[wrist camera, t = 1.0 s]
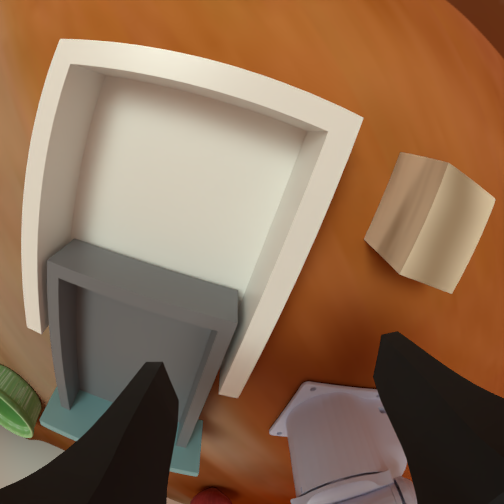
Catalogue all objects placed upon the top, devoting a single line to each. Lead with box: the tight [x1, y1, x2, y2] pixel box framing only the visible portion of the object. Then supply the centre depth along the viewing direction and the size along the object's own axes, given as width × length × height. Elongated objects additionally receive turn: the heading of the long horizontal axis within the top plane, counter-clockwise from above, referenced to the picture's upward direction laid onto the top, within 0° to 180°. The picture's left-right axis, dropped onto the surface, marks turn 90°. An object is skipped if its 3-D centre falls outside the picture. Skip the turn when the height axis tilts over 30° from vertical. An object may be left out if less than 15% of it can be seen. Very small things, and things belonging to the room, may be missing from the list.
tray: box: [40, 238, 238, 477], centre depth 17 cm, size 14×13×6 cm
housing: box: [21, 39, 363, 398], centre depth 15 cm, size 18×16×5 cm
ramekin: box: [0, 365, 41, 438], centre depth 21 cm, size 9×9×4 cm
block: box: [364, 152, 496, 294], centre depth 15 cm, size 4×6×5 cm
